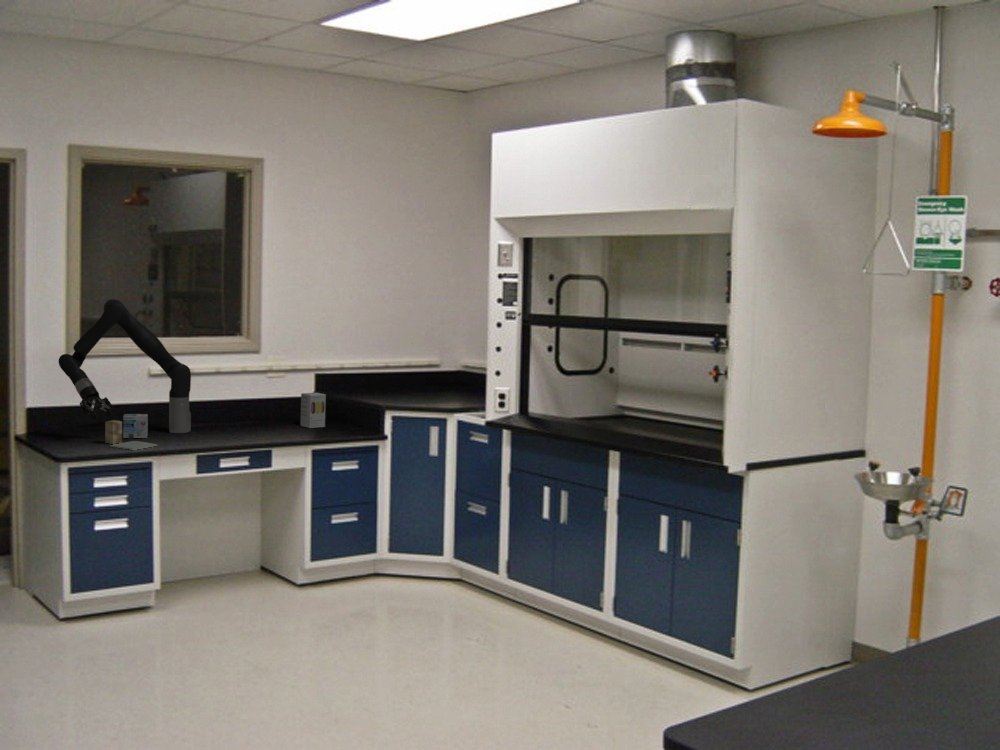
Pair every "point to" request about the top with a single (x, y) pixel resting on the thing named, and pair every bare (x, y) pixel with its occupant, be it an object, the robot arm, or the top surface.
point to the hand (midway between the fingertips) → (104, 417)
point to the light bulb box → (135, 425)
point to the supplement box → (313, 410)
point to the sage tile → (133, 445)
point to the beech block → (113, 432)
